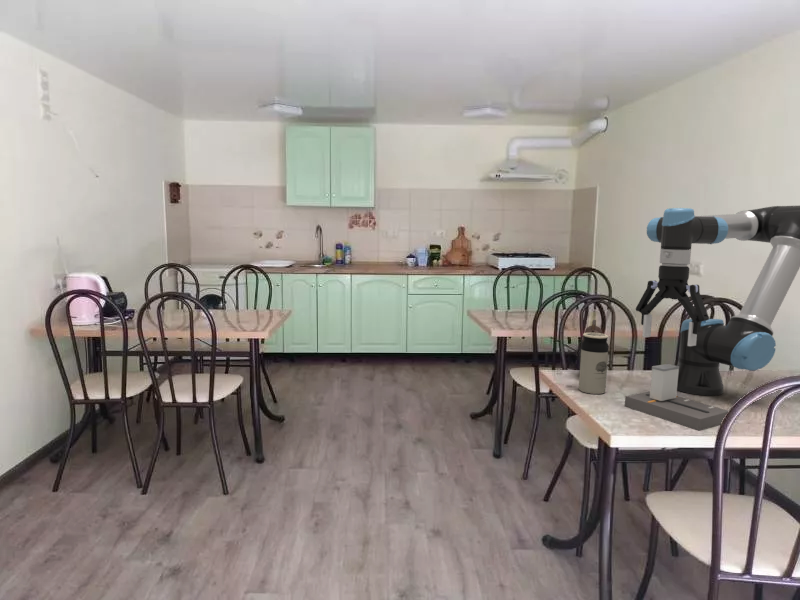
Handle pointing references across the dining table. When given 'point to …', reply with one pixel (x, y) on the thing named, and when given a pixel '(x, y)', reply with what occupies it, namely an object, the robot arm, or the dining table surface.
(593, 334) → the travel mug
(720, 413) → the console
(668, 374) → the fader
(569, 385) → the dining table surface
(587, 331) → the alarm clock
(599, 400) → the dining table surface
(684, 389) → the robot arm
